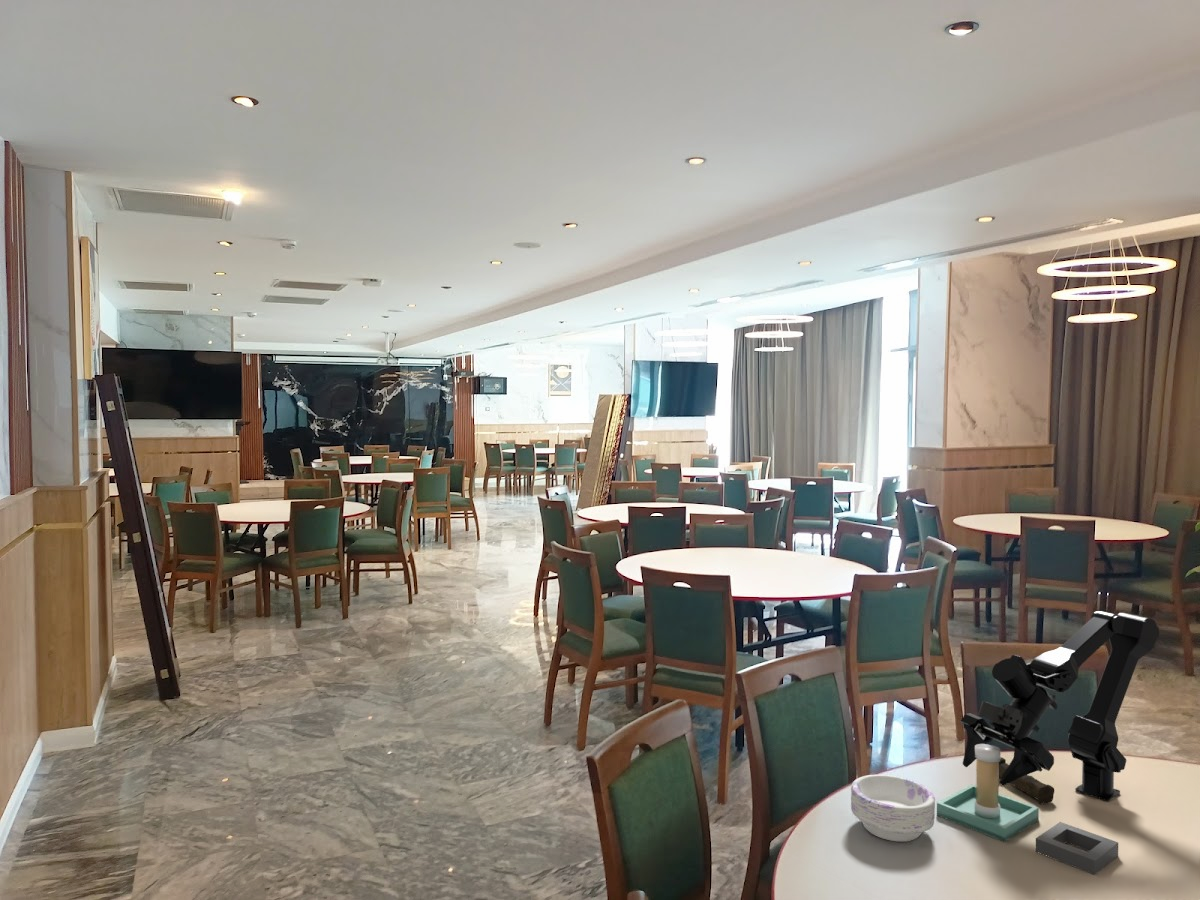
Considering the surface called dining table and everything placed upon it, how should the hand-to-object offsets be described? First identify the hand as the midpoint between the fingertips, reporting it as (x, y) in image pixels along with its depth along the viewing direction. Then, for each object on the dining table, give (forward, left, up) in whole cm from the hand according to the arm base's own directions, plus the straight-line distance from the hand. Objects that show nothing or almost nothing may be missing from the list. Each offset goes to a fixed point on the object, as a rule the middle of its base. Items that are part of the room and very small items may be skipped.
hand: (982, 774), depth 165 cm
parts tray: (-1, 0, -9) cm, 9 cm away
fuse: (-1, 0, -8) cm, 8 cm away
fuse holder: (0, +17, -9) cm, 20 cm away
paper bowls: (+18, -9, -9) cm, 22 cm away
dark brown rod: (-20, -4, -9) cm, 22 cm away
